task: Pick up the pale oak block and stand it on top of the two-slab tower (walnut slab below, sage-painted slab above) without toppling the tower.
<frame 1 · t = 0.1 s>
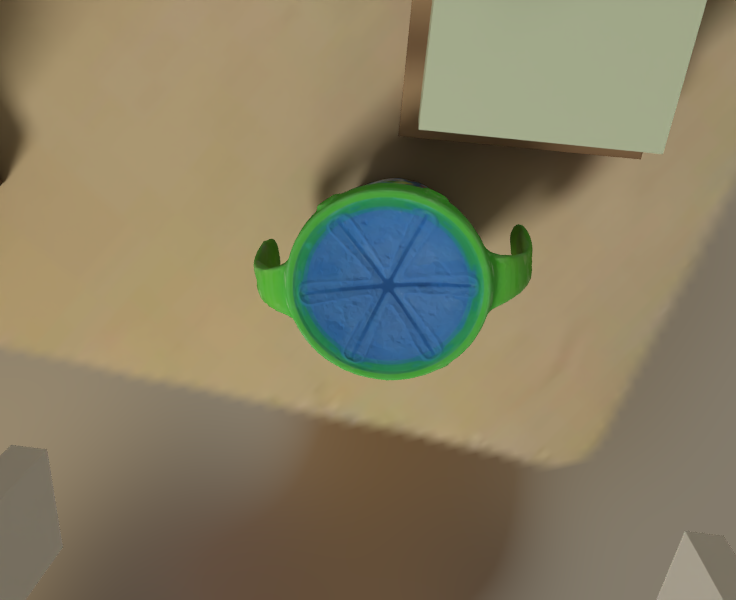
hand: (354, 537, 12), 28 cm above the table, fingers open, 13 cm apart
snack cup: (394, 232, 39), on the table
walnut slab: (524, 27, 33), on the table, touching sage slab
sage slab: (541, 24, 29), point 5 cm above the table, touching walnut slab
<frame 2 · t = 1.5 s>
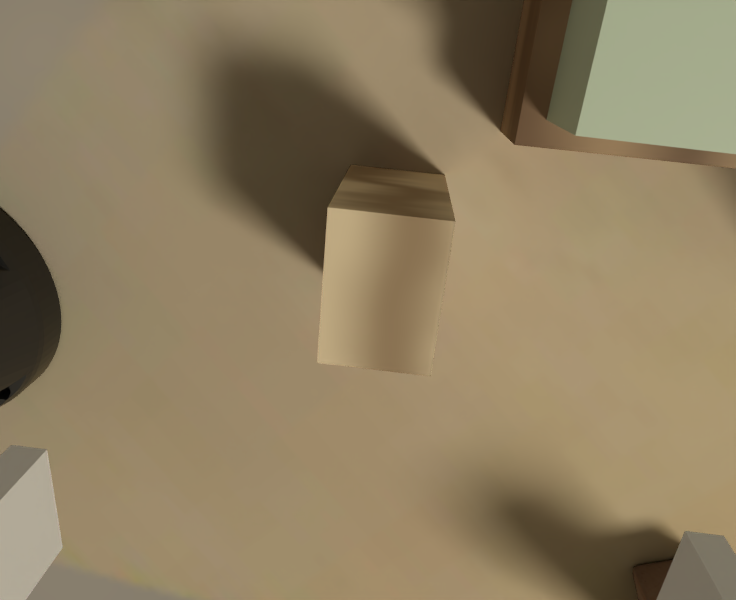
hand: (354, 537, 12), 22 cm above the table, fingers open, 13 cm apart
walnut slab: (653, 1, 27), on the table, touching sage slab
oak block: (390, 232, 32), on the table
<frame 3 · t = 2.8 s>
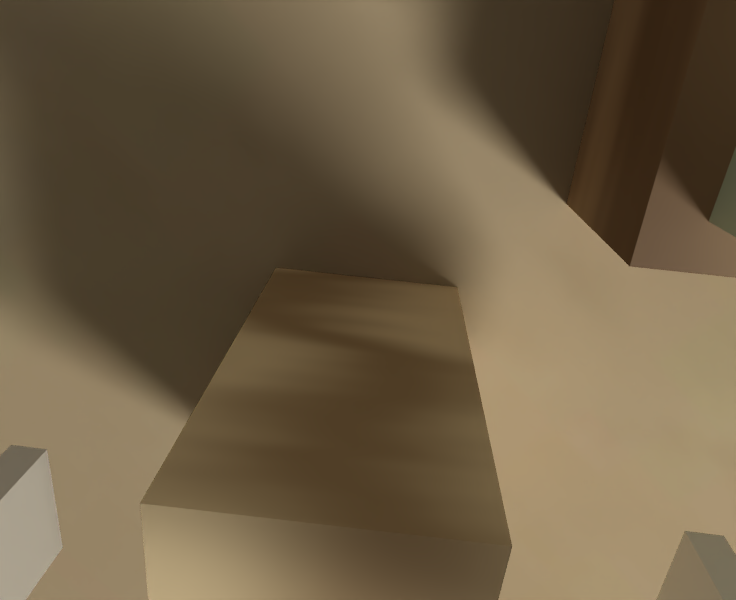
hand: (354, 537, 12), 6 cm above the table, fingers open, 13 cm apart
oak block: (355, 385, 17), on the table
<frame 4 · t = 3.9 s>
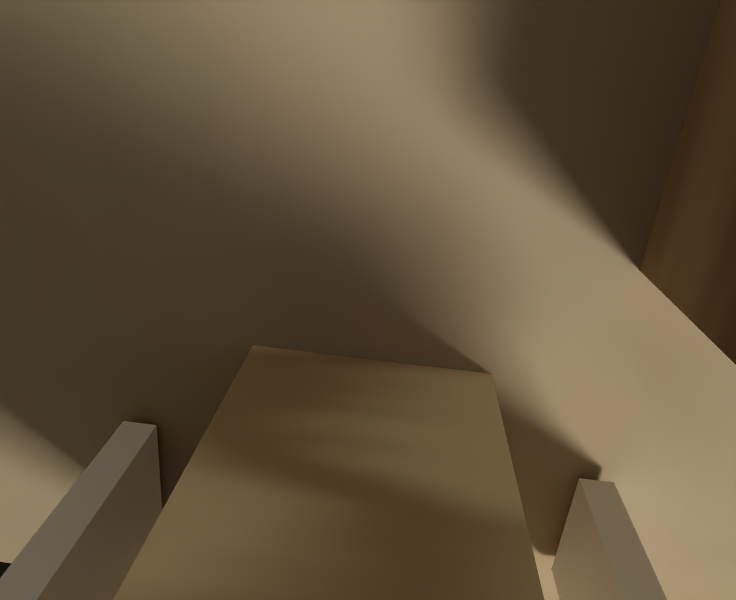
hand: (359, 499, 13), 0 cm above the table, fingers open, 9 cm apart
oak block: (356, 489, 14), on the table
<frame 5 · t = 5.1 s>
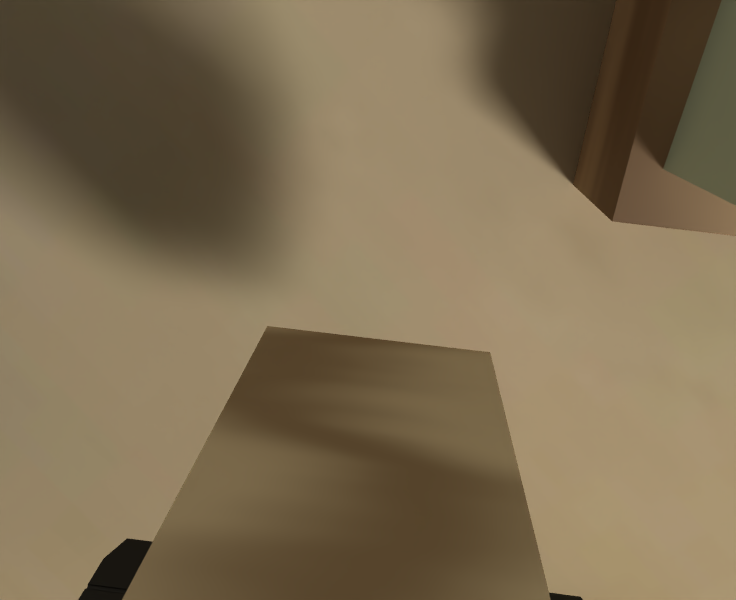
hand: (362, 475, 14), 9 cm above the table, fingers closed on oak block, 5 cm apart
oak block: (363, 464, 14), point 8 cm above the table, touching gripper
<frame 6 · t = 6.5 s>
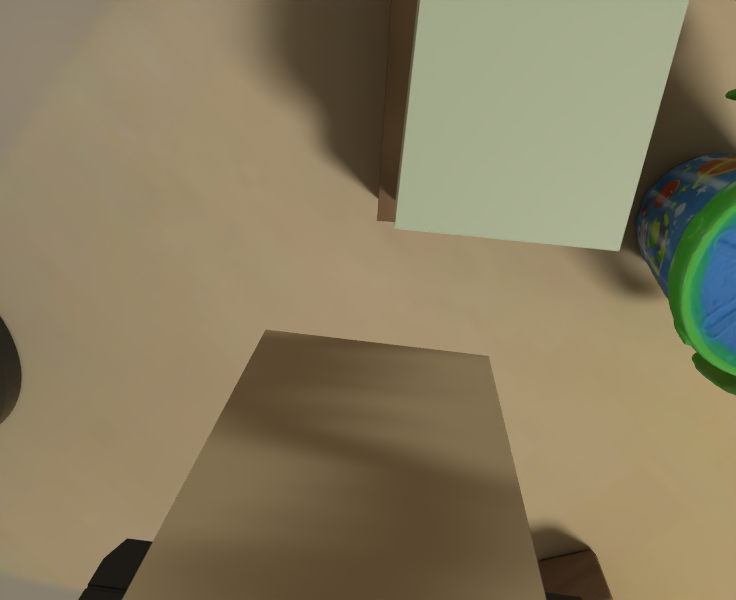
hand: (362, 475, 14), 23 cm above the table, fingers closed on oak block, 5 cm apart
snack cup: (695, 216, 35), on the table
walnut slab: (493, 91, 33), on the table, touching sage slab
oak block: (362, 467, 14), point 23 cm above the table, touching gripper
wooden block: (576, 590, 47), on the table
sage slab: (510, 99, 28), point 5 cm above the table, touching walnut slab
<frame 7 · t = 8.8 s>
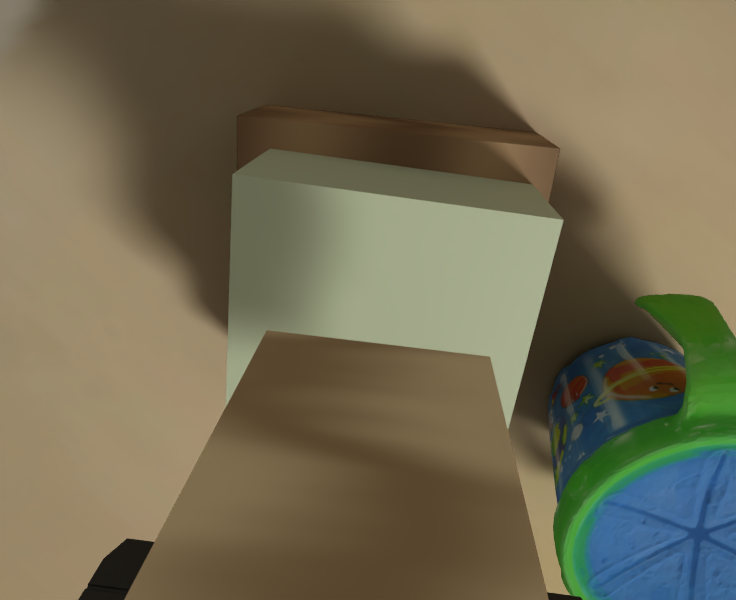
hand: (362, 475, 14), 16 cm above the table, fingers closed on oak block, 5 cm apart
snack cup: (617, 395, 31), on the table
walnut slab: (385, 254, 29), on the table, touching sage slab
oak block: (363, 468, 14), point 15 cm above the table, touching gripper
sage slab: (381, 298, 24), point 5 cm above the table, touching walnut slab
when the fingers open (10 cm above the table, at t = 10.3 s): oak block stays where it is, resting on sage slab.
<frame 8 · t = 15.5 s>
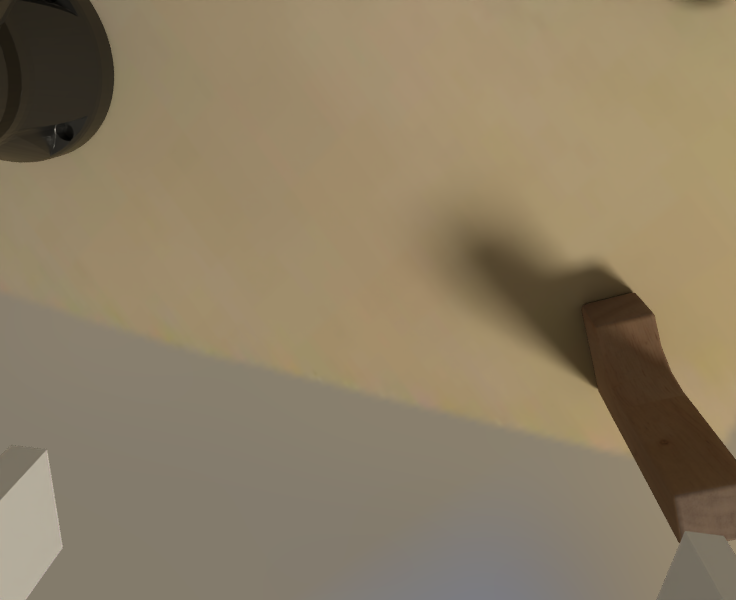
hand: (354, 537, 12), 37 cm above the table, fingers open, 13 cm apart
wooden block: (615, 341, 50), on the table
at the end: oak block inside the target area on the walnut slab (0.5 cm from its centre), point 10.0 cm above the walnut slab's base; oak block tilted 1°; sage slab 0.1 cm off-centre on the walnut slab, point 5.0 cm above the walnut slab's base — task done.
